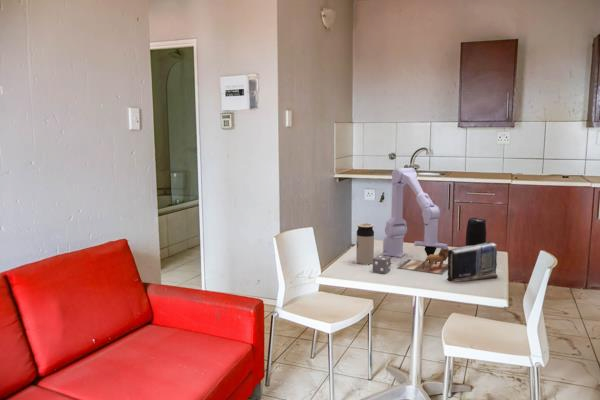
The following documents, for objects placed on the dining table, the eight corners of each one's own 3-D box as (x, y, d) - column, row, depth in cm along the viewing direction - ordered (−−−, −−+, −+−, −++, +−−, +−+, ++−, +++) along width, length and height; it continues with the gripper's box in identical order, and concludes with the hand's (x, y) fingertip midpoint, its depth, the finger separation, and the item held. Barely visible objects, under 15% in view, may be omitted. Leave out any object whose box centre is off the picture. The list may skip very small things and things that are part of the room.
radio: (449, 283, 204) (450, 247, 202) (439, 277, 212) (440, 242, 210) (501, 279, 208) (503, 244, 206) (489, 273, 217) (491, 239, 215)
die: (372, 272, 220) (372, 258, 219) (377, 268, 225) (377, 255, 224) (385, 273, 217) (386, 260, 216) (390, 270, 222) (390, 257, 221)
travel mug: (374, 260, 238) (374, 223, 236) (372, 265, 231) (373, 226, 228) (357, 259, 240) (357, 222, 237) (355, 264, 232) (355, 226, 230)
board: (396, 268, 225) (397, 267, 225) (408, 259, 240) (408, 259, 240) (441, 274, 215) (441, 274, 215) (451, 265, 230) (451, 264, 230)
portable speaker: (488, 259, 239) (490, 219, 236) (477, 262, 233) (479, 221, 230) (472, 255, 246) (474, 216, 243) (461, 259, 240) (463, 218, 237)
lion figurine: (437, 259, 230) (444, 243, 226) (446, 266, 227) (453, 250, 223) (417, 266, 221) (424, 250, 217) (426, 273, 218) (433, 257, 214)
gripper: (412, 233, 224) (411, 263, 226) (445, 236, 217) (444, 267, 219) (417, 230, 230) (416, 259, 232) (449, 233, 223) (448, 263, 225)
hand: (430, 262), depth 226 cm, fingers closed, pressing on lion figurine
